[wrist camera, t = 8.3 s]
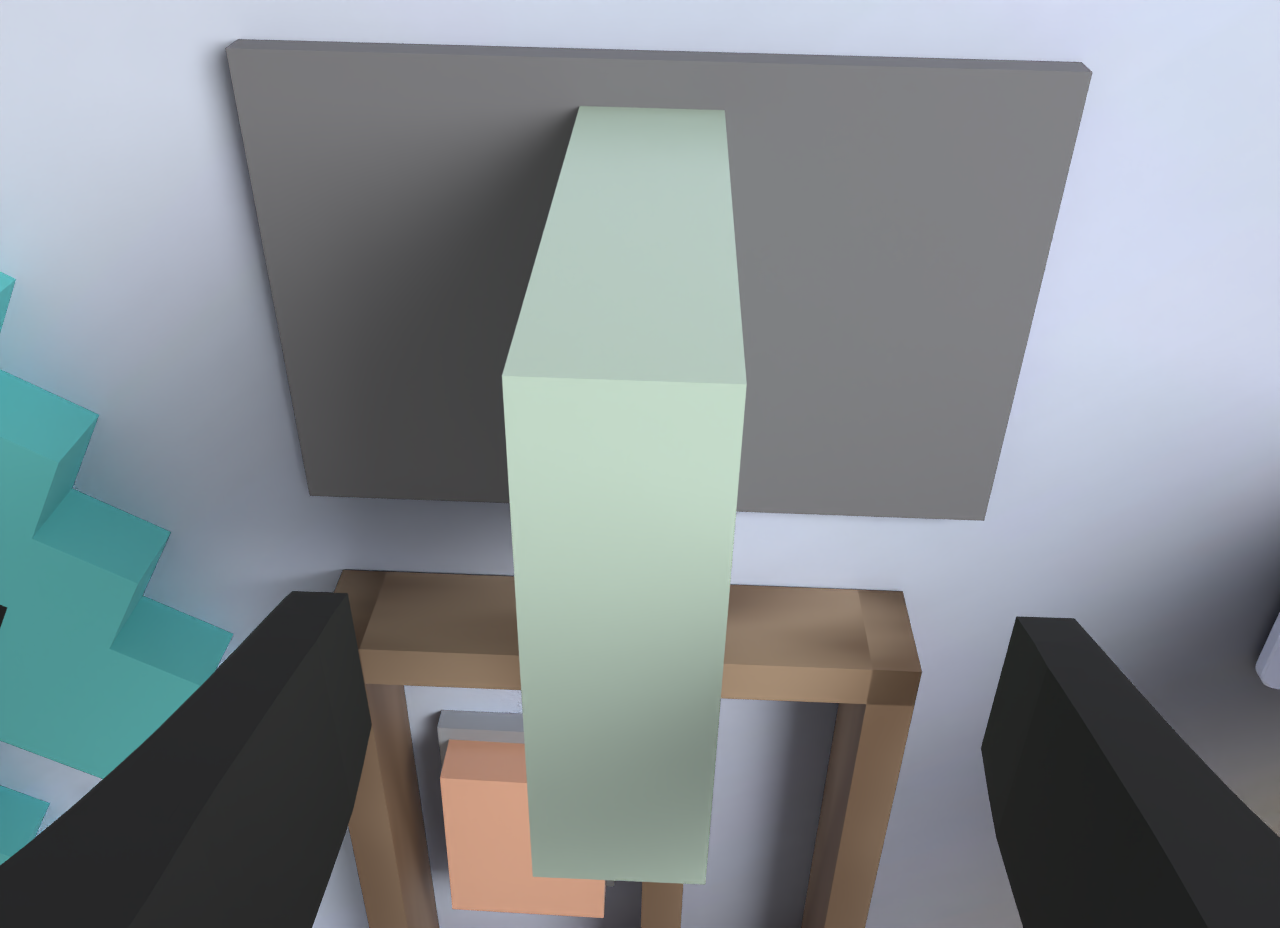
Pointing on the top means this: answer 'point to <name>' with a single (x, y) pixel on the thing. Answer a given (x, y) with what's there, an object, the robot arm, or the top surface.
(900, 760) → the rack
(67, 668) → the alien figure
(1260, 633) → the top surface
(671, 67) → the gray mat
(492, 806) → the terracotta coaster
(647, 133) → the pale green block
